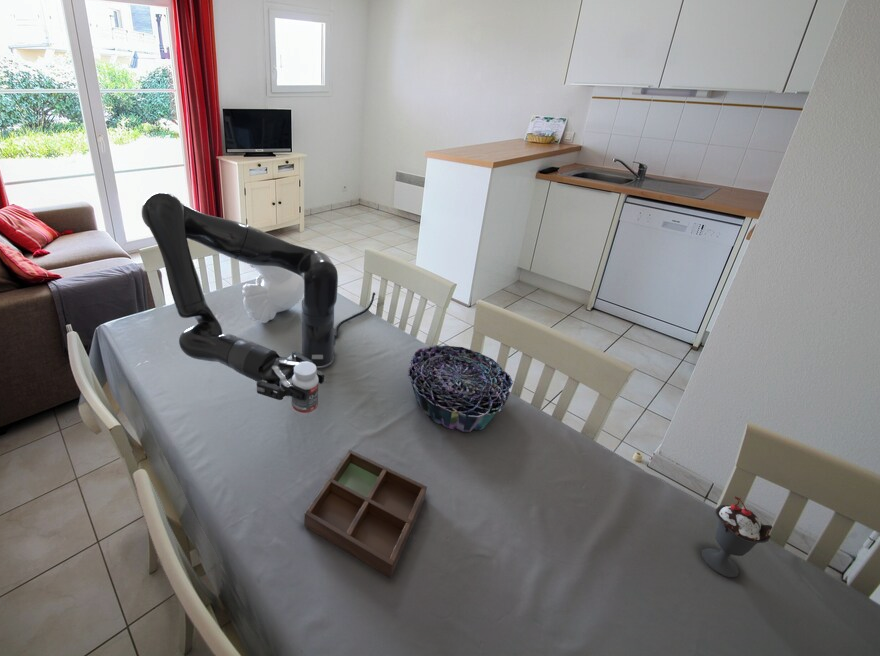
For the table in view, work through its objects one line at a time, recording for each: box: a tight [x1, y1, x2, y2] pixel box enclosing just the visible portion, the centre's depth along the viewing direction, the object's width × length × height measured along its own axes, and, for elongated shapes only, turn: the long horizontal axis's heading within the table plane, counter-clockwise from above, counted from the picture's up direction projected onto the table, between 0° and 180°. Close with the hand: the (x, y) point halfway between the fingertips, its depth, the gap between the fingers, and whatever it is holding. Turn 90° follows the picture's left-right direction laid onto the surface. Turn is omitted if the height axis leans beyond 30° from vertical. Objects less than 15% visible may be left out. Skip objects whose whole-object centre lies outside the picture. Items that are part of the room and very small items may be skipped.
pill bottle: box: [291, 361, 320, 415], centre depth 91 cm, size 6×6×10 cm
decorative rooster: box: [241, 264, 304, 324], centre depth 148 cm, size 25×16×25 cm
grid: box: [304, 449, 428, 579], centre depth 82 cm, size 17×17×3 cm
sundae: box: [701, 496, 773, 578], centre depth 72 cm, size 7×7×15 cm
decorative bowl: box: [407, 344, 514, 433], centre depth 110 cm, size 26×28×10 cm
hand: (315, 387), depth 89 cm, fingers closed on pill bottle, 5 cm apart
